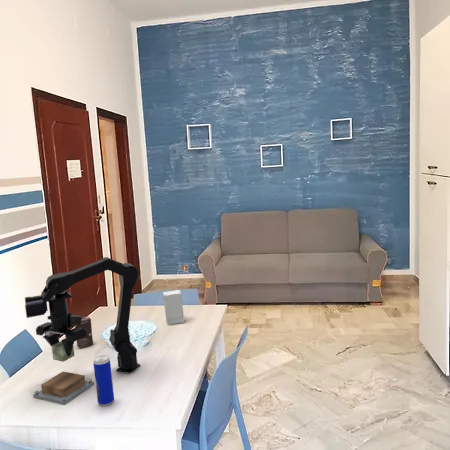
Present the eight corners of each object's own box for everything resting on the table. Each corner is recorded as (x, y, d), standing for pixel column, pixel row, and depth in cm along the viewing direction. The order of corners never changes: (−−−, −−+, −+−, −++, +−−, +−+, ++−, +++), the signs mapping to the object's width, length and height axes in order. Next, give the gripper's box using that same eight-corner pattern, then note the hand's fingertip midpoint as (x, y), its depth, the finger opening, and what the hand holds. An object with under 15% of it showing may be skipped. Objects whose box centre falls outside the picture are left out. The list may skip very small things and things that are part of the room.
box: (79, 349, 193) (76, 321, 191) (76, 346, 196) (73, 319, 195) (94, 345, 196) (91, 318, 194) (90, 342, 200) (87, 315, 198)
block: (74, 355, 161) (73, 342, 161) (63, 361, 157) (61, 347, 156) (64, 353, 164) (62, 340, 163) (53, 359, 159) (51, 345, 159)
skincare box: (182, 319, 221) (180, 289, 219) (184, 323, 215) (182, 292, 213) (165, 321, 219) (162, 291, 217) (166, 325, 213) (163, 294, 211)
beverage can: (99, 398, 151) (94, 355, 149) (115, 397, 151) (110, 353, 149) (96, 407, 146) (91, 362, 143) (113, 405, 146) (108, 360, 144)
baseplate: (94, 384, 161) (93, 379, 160) (64, 404, 148) (63, 399, 148) (64, 378, 167) (63, 373, 167) (33, 397, 155) (32, 392, 154)
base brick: (85, 383, 160) (84, 375, 159) (64, 397, 151) (63, 389, 150) (64, 379, 164) (63, 371, 164) (42, 392, 155) (41, 384, 155)
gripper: (95, 307, 161) (100, 349, 163) (57, 302, 169) (62, 342, 172) (71, 317, 151) (76, 362, 153) (32, 311, 160) (37, 354, 162)
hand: (63, 354), depth 160 cm, fingers closed on block, 5 cm apart
